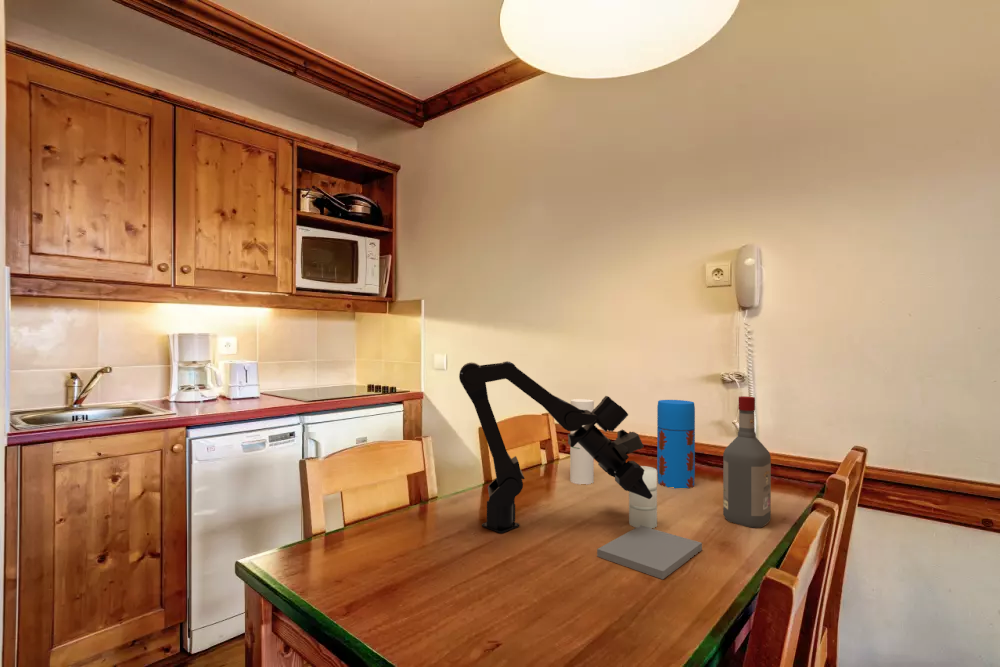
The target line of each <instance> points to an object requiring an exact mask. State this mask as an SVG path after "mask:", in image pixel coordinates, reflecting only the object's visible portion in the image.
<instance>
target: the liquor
mask: <svg viewBox="0 0 1000 667" xmlns="http://www.w3.org/2000/svg"><path fill="white" fill-rule="evenodd" d="M738 410H739V411H738V415H739V416H738V432H737V436H736V437H735V438H734V439H733V441H731V442H730V443H729V445H727V446H726V447H725V448H724V451H723V453H722V455H723V456H722V457H723V467H722V468H723V469H722V470H723V471H722V473H723V474H722V476H723V478H722V481H723V483H722V484H723V485H722V487H723V490H722V493H723V494H722V496H723V497H722V498H723V501H722V502H723V505H722V507H723V508H722V511H723V512H722V514H723V517H724V518H725V519H726V520H727V521H728V522H729V521H730V522H729V523H731V522H733V523H732V524H735V523H736V525H739V524H740V526H742V527H748V528H763V527H764V526H766V525H767V524H768V523H769V522H770V521H771V518H772V517H771V516H772V514H771V512H772V511H771V509H772V507H771V506H772V505H771V502H772V501H771V497H772V495H771V494H772V493H771V492H772V488H771V486H772V484H771V481H772V480H771V475H772V473H771V472H772V471H771V470H772V469H771V468H772V466H771V465H772V464H771V463H772V461H771V459H772V456H771V454H770V451H769V449H767V448H766V447H765V445H763V443H762V442H761V441H760V440H759V439H758V438H757V433H756V432H755V431H756V430H755V411H756V398H755V397H754V396H742V395H741V396H740V395H739V396H738Z"/></svg>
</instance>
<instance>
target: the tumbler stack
mask: <svg viewBox="0 0 1000 667" xmlns="http://www.w3.org/2000/svg"><path fill="white" fill-rule="evenodd" d="M640 466H641V467H642V468H643V469H644V474H643V478H642V479H643V481H644V483H645V484H646V486H647V488H648V489H649V491H650V492H651V494H652V497H651V499H648V498H645V497H643V496H640V495H637V494H635V493H632V492H630V491H628V524H629V525H630V526H631V527H632V528H633V527H634V528H637V527H638V526H640V525H641V526H644V527H648V528H651V529H652V528H653V529H656V528H657V527H658V473H657V468H655V467H652V466H646V465H640ZM655 527H656V528H655Z"/></svg>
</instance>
